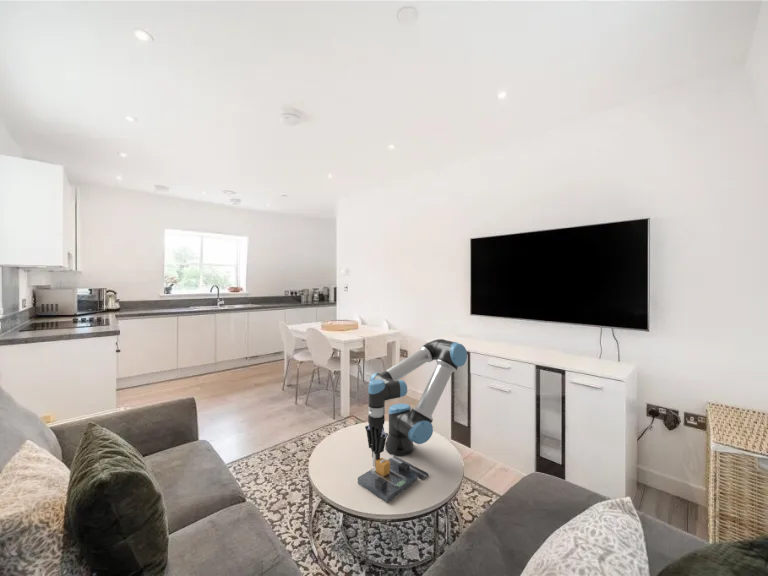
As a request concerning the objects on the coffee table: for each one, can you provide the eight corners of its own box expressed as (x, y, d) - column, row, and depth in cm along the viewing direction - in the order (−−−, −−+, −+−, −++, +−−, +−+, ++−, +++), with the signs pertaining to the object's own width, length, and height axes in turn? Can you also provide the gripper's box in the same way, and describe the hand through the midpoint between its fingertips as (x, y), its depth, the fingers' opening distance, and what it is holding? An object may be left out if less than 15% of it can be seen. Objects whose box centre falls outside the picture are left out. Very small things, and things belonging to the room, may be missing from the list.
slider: (381, 468, 147) (382, 456, 147) (389, 472, 143) (389, 460, 143) (375, 471, 144) (375, 459, 144) (383, 476, 140) (383, 464, 140)
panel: (388, 464, 155) (388, 453, 155) (417, 480, 142) (417, 468, 142) (357, 483, 140) (357, 470, 140) (387, 503, 128) (387, 489, 128)
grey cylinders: (394, 457, 161) (394, 455, 161) (429, 476, 146) (429, 473, 146) (388, 461, 157) (388, 458, 157) (423, 480, 142) (423, 477, 142)
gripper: (360, 412, 148) (360, 462, 148) (380, 421, 138) (380, 475, 139) (372, 408, 153) (372, 456, 154) (392, 416, 144) (391, 467, 144)
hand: (376, 465), depth 146 cm, fingers closed
